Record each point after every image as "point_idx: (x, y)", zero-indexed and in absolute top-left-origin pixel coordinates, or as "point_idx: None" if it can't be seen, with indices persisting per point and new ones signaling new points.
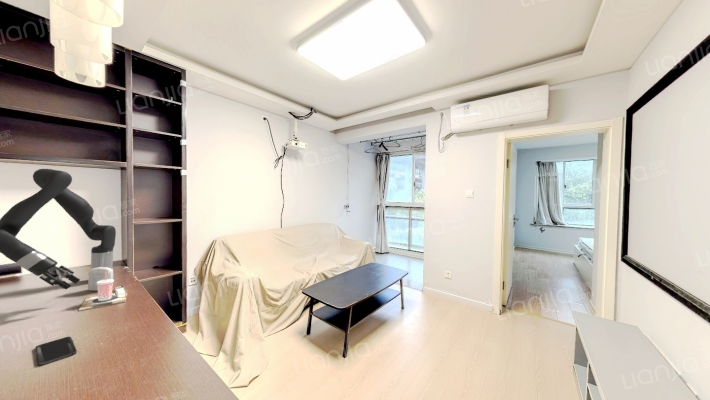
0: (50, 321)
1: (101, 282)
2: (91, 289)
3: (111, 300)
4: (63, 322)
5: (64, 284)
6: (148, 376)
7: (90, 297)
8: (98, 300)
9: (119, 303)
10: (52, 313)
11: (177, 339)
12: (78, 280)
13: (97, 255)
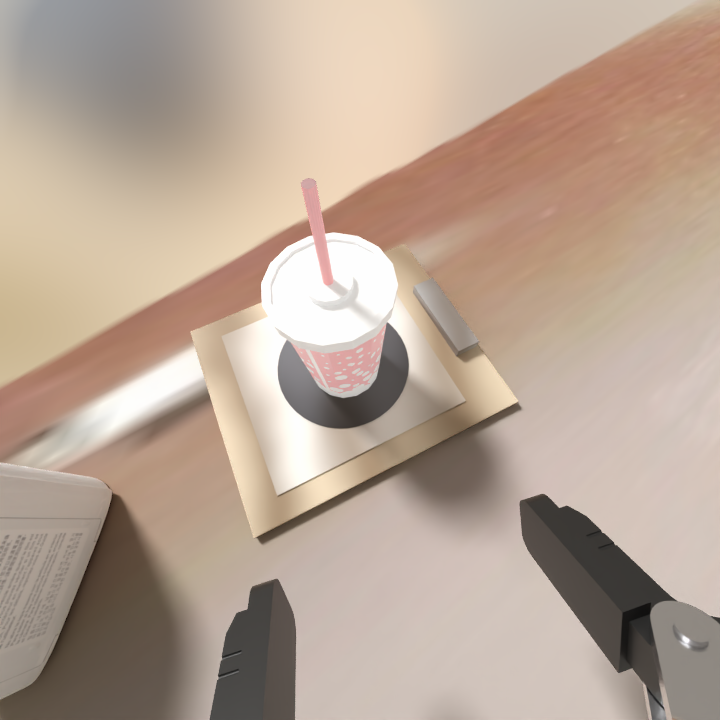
0: (670, 453)
1: (369, 294)
2: (51, 639)
3: None
4: (667, 368)
5: (613, 548)
6: None
7: (284, 491)
8: (369, 386)
9: (416, 262)
10: None
11: (699, 3)
12: (276, 593)
13: None
